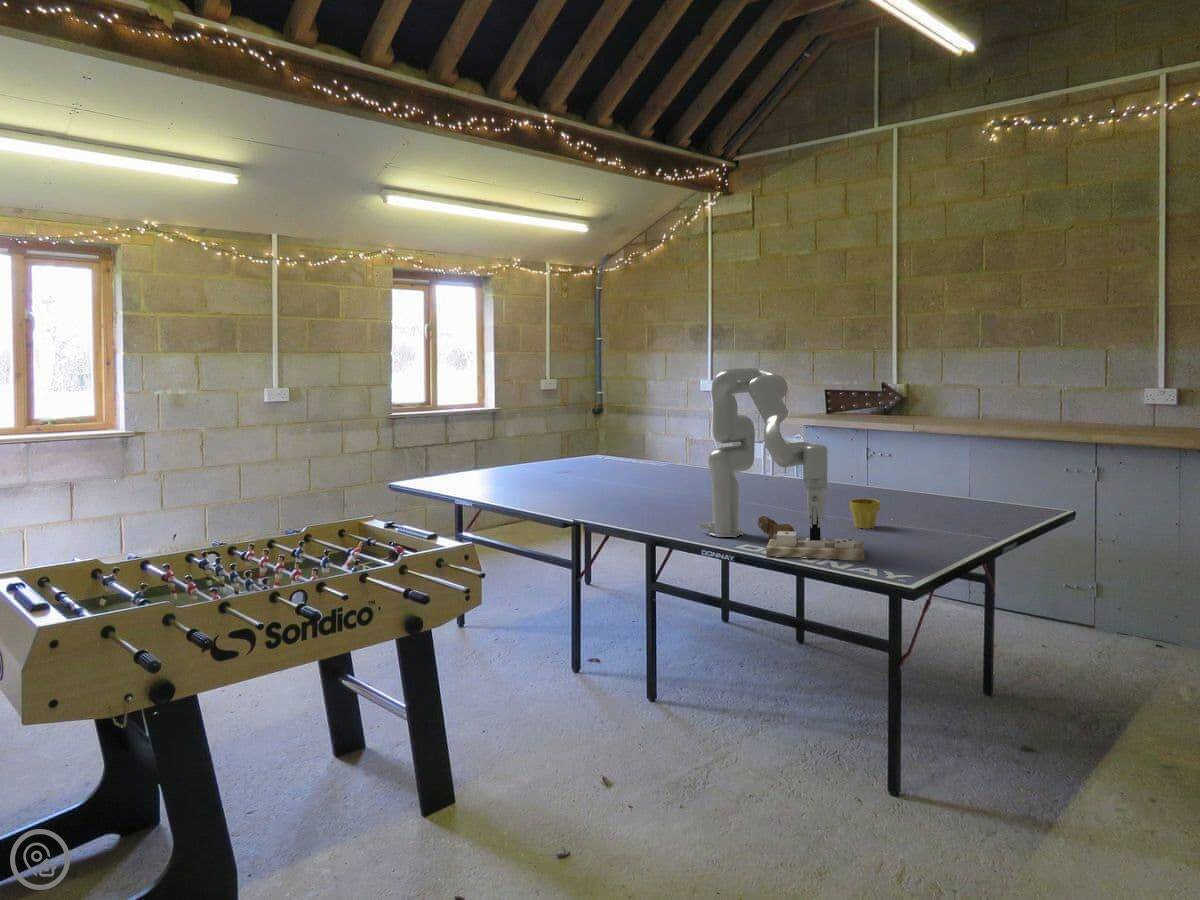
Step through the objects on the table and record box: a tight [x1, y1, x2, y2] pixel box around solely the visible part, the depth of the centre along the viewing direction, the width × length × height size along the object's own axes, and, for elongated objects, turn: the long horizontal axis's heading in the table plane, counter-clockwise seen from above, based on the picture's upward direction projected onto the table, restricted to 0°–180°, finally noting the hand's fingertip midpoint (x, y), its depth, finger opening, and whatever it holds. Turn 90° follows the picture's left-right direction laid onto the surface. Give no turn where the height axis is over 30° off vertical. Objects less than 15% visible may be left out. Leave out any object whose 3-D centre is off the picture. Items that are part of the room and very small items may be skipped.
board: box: [765, 538, 865, 562], centre depth 279 cm, size 30×13×3 cm, turn 74°
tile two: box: [805, 536, 826, 548], centre depth 278 cm, size 6×6×4 cm
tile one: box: [776, 531, 798, 547], centre depth 281 cm, size 6×6×4 cm
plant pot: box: [849, 498, 881, 530], centre depth 315 cm, size 10×10×10 cm
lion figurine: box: [757, 515, 795, 539], centre depth 296 cm, size 15×5×9 cm, turn 67°
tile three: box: [834, 538, 855, 549], centre depth 276 cm, size 6×6×4 cm
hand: (815, 539), depth 278 cm, fingers closed
